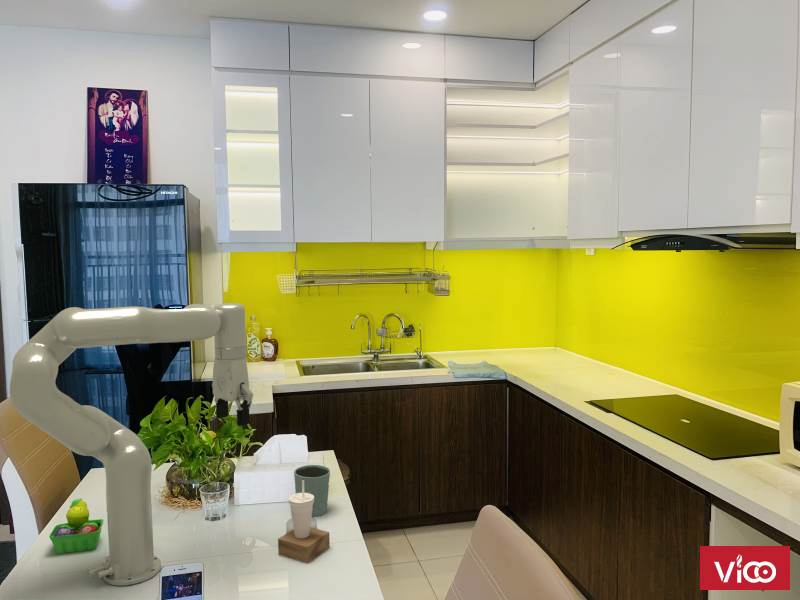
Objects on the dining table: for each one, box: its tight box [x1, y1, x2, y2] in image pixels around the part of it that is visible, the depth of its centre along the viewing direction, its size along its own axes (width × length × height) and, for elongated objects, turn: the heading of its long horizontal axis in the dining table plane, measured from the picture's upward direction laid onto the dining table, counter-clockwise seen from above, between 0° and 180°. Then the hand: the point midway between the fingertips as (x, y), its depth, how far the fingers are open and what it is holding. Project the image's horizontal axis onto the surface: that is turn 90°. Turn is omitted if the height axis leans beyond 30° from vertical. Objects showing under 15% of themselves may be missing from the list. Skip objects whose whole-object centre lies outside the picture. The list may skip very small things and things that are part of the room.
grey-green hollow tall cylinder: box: [293, 464, 331, 518], centre depth 181 cm, size 10×10×12 cm
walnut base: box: [277, 527, 331, 564], centre depth 158 cm, size 9×9×4 cm
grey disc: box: [285, 517, 318, 534], centre depth 169 cm, size 8×8×2 cm
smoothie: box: [287, 480, 314, 538], centre depth 158 cm, size 6×6×14 cm
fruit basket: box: [48, 498, 104, 555], centre depth 162 cm, size 11×9×11 cm
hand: (232, 421), depth 159 cm, fingers open, 9 cm apart
